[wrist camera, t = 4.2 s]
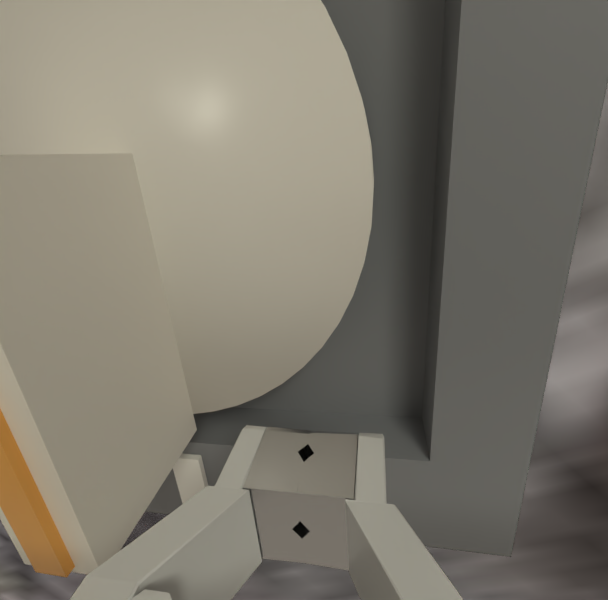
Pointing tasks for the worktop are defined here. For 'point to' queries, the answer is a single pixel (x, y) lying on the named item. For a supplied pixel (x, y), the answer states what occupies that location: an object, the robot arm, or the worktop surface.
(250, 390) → the dial
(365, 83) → the panel
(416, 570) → the robot arm
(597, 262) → the worktop surface
